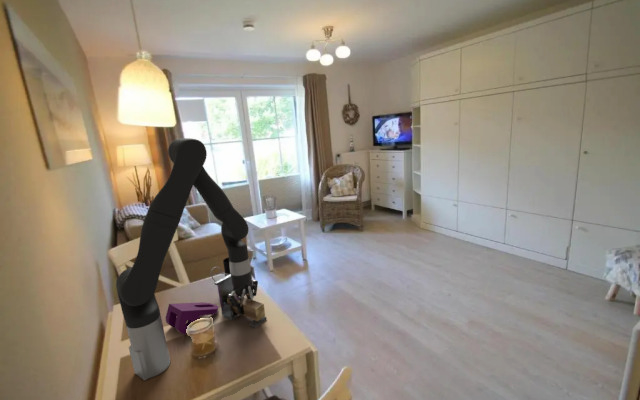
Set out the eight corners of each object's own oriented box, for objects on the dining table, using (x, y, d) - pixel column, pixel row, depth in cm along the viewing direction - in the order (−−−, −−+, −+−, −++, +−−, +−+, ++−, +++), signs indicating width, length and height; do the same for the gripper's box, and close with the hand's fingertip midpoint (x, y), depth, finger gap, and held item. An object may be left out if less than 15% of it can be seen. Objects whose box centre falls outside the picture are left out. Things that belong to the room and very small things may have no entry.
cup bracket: (230, 321, 119) (225, 286, 116) (219, 316, 123) (214, 282, 119) (247, 309, 126) (243, 276, 123) (237, 305, 130) (232, 272, 126)
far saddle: (255, 328, 114) (255, 325, 113) (249, 325, 115) (249, 323, 115) (266, 319, 118) (266, 317, 118) (261, 317, 120) (260, 315, 120)
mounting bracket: (205, 322, 130) (163, 326, 116) (210, 302, 131) (169, 303, 117) (218, 329, 124) (175, 335, 110) (223, 308, 125) (181, 311, 111)
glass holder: (248, 289, 142) (244, 259, 139) (217, 300, 134) (212, 269, 131) (241, 282, 149) (237, 254, 146) (212, 293, 141) (207, 262, 138)
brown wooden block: (257, 321, 113) (256, 309, 112) (228, 309, 122) (227, 298, 121) (265, 315, 117) (263, 303, 116) (236, 304, 126) (234, 293, 124)
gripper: (232, 280, 108) (238, 323, 112) (261, 264, 119) (266, 304, 123) (218, 276, 112) (225, 318, 116) (247, 261, 123) (252, 299, 127)
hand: (246, 310), depth 119 cm, fingers closed on brown wooden block, 4 cm apart
